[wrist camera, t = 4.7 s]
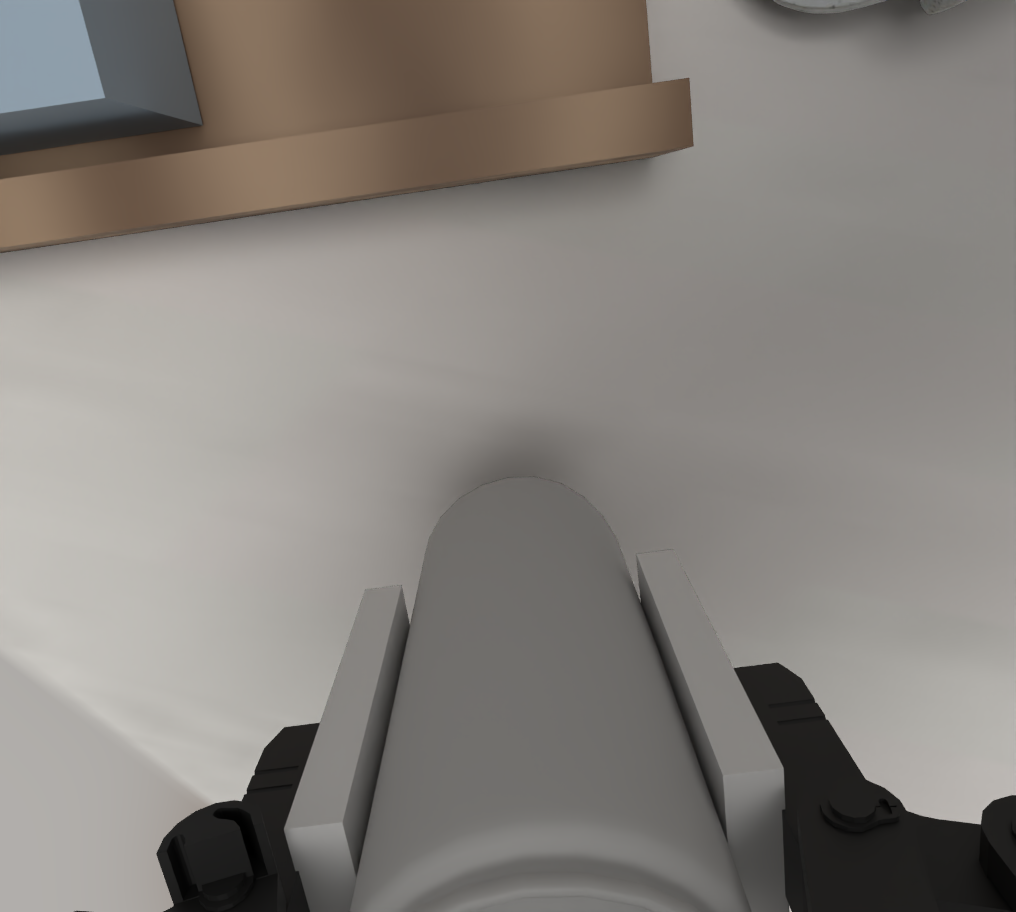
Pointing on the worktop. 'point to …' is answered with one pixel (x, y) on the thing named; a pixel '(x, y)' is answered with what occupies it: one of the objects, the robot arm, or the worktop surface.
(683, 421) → the worktop surface
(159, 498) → the worktop surface
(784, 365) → the worktop surface
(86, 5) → the blue recessed block
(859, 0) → the ceramic mug
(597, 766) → the beverage can
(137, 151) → the bay
